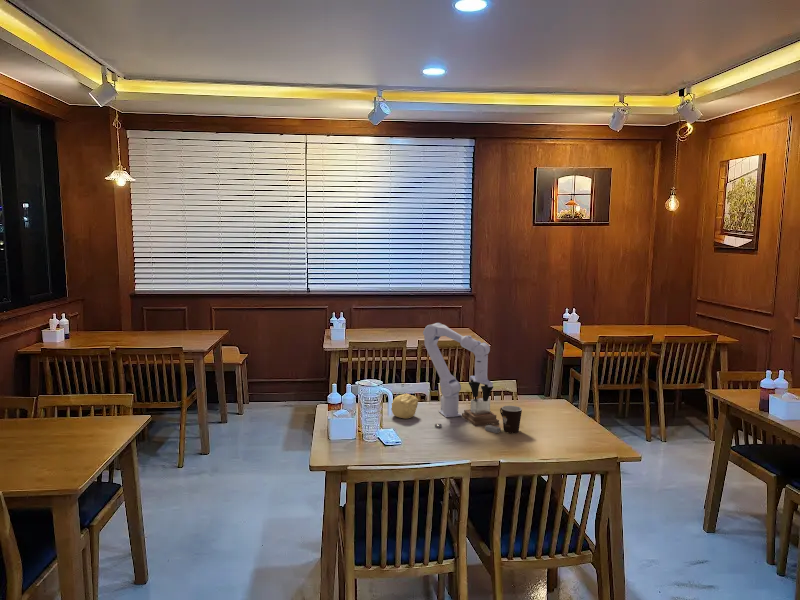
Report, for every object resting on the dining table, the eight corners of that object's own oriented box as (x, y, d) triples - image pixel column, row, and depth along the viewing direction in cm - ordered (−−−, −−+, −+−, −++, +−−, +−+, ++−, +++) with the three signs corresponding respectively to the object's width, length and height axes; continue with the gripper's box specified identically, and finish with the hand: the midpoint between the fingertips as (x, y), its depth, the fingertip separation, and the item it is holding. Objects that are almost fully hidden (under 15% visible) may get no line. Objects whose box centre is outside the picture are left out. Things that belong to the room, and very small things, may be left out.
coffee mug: (523, 434, 238) (524, 411, 237) (503, 434, 238) (503, 411, 236) (517, 425, 249) (518, 403, 248) (498, 425, 249) (498, 403, 248)
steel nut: (433, 426, 247) (433, 424, 247) (440, 426, 248) (440, 423, 248) (436, 428, 244) (436, 426, 244) (442, 428, 245) (442, 425, 245)
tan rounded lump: (409, 422, 252) (409, 398, 251) (386, 417, 258) (387, 395, 257) (421, 415, 262) (421, 393, 261) (399, 411, 268) (399, 389, 267)
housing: (470, 412, 256) (470, 399, 255) (484, 410, 260) (484, 397, 259) (475, 414, 252) (476, 401, 252) (489, 412, 256) (490, 399, 256)
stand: (461, 416, 261) (461, 409, 261) (485, 414, 265) (485, 407, 265) (474, 425, 248) (474, 418, 248) (498, 423, 252) (499, 415, 251)
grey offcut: (484, 430, 243) (485, 426, 243) (488, 429, 245) (488, 424, 245) (496, 433, 239) (497, 429, 239) (500, 432, 241) (500, 427, 241)
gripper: (464, 367, 258) (463, 396, 260) (484, 374, 246) (483, 404, 247) (476, 365, 262) (476, 394, 263) (496, 372, 249) (495, 402, 251)
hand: (480, 398), depth 255 cm, fingers open, 7 cm apart
